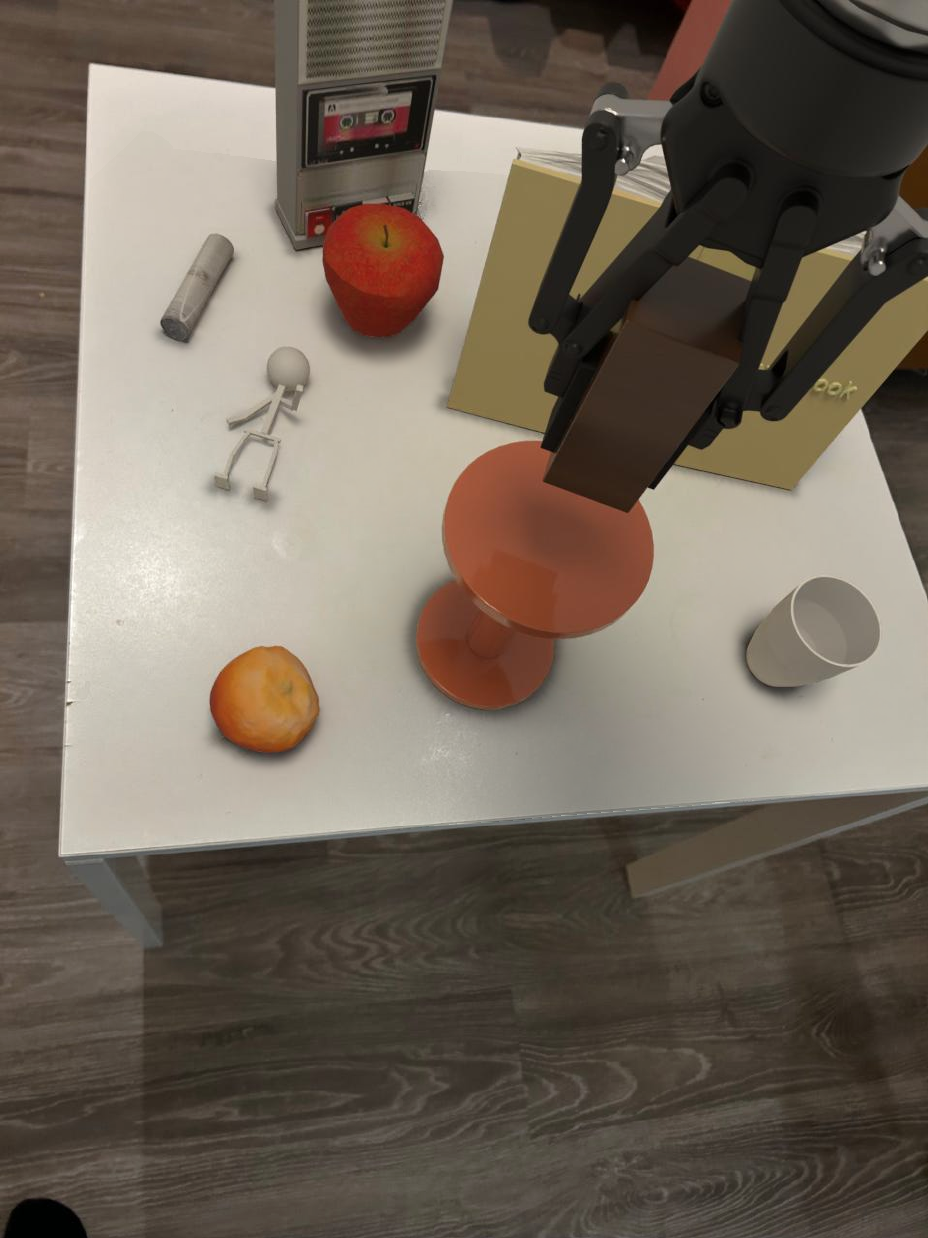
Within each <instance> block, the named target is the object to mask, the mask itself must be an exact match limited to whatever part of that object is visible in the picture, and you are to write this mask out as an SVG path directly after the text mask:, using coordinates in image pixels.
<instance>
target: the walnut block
mask: <svg viewBox="0 0 928 1238" xmlns="http://www.w3.org/2000/svg"><path fill="white" fill-rule="evenodd" d="M750 284H751V281H750V280H747V279H745V278H742V277H740V276H737V275H735V274H732V273H730V272H727V271H724V270H722V269H719V268H717V267H714V266H712V265H709V264H707V263H704V262H701V261H699V260H696V259H694V258H691V257H689V256H688V257H687V258H686V259H685V260H684V261H683V262H682V263H681V264H680V265H679V266H677V267H676V266H672V267H671V268H670V269H669V270H668V271H667V272H666V273H665V274H664V275H663V276H662V277H661V278H660V279H659V280H658V281H657V282H656V283H655V284H654V285H653V287H652V288H651V289H650V290H649V291H648V292H647V293H646V294H645V295H644V296H643V297H642V298H641V299H640V300H639V301H636V300H631V301H630V303H629V305H628V307H627V309H626V311H625V313H624V315H623V317H622V318H621V319H620V320H619V321H618V323H617V324H616V325H615V326H614V327H613V328H612V329H611V330H610V331H609V332H608V333H607V334H606V336H605V339H604V342H603V346H602V349H601V353H600V356H599V360H598V363H597V367H596V370H595V373H594V374H593V376H592V378H591V380H590V382H589V384H588V386H587V388H586V390H585V392H584V394H583V396H582V398H581V400H580V402H579V404H578V406H577V407H576V409H575V411H574V413H573V415H572V417H571V419H570V421H569V423H568V425H567V427H566V429H565V431H564V433H563V435H562V437H561V439H560V441H559V442H558V444H557V446H556V448H555V450H554V452H551V453H550V457H549V460H548V463H547V467H546V470H545V473H544V477H543V482H545V483H547V484H550V485H553V486H555V487H558V488H561V489H564V490H566V491H569V492H572V493H574V494H577V495H580V496H582V497H585V498H588V499H591V500H593V501H596V502H599V503H601V504H604V505H607V506H610V507H612V508H615V509H618V510H620V511H623V512H626V513H629V512H630V510H631V509H632V508H633V506H634V505H635V504H636V502H637V501H638V500H639V501H640V498H641V497H642V496H643V494H644V493H645V492H646V490H647V489H649V488H648V486H649V485H650V484H651V482H652V481H653V480H654V478H655V477H656V476H657V474H658V473H659V472H660V470H661V469H662V467H663V466H664V465H665V463H666V462H667V461H668V459H669V458H670V457H671V455H672V454H673V453H674V451H675V450H676V449H677V447H678V446H679V445H680V443H681V442H682V441H683V439H684V438H685V437H686V435H687V434H688V433H689V431H690V430H691V429H692V427H693V426H694V425H695V423H696V422H697V421H698V419H699V418H700V416H701V415H702V414H703V412H704V411H705V410H706V408H707V407H708V406H709V404H710V403H711V402H712V400H713V399H714V398H715V396H716V395H717V394H718V392H719V391H720V390H721V388H722V387H723V386H724V384H725V383H726V382H727V380H728V379H729V378H730V376H731V375H732V374H733V372H734V371H735V370H736V368H737V367H738V366H739V362H740V357H741V351H742V346H743V342H742V341H739V340H738V337H739V332H740V326H741V321H742V316H743V310H744V305H745V300H746V297H747V294H748V290H749V287H750Z"/></svg>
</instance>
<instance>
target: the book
mask: <svg viewBox="0 0 928 1238" xmlns="http://www.w3.org/2000/svg"><path fill="white" fill-rule="evenodd" d="M515 150H516V151H517V155H516V158H514V157H512V162H511V166H510V170H509V172H508V177H507V181H506V184H505V188H504V192H503V196H502V200H501V204H500V207H499V210H498V214H497V218H496V222H495V225H494V229H493V233H492V237H491V241H490V244H489V248H488V252H487V255H486V259H485V263H484V266H483V271H482V274H481V278H480V281H479V285H478V289H477V293H476V296H475V301H474V304H473V307H472V312H471V316H470V318H469V322H468V327H467V330H466V334H465V337H464V342H463V345H462V349H461V352H460V356H459V359H458V363H457V367H456V371H455V375H454V379H453V383H452V386H451V391H450V394H449V398H448V401H447V406H446V408H449V409H452V410H456V411H461V412H463V413H468V414H471V415H475V416H479V417H483V418H487V419H490V420H494V421H499V422H501V423H505V424H509V425H513V426H517V427H521V428H525V429H528V430H532V431H537V432H539V433H543V434H545V431H546V428H547V425H548V421H549V418H550V415H551V412H552V409H553V407H554V405H555V402H556V400H557V398H558V397H557V396H555V395H552V394H550V393H547V392H544V381H545V378H546V374H547V371H548V368H549V365H550V362H551V360H552V358H553V356H554V353H555V351H556V348H557V346H558V342H557V340H556V339H555V338H554V337H553V336H552V335H551V334H545V335H541V334H537V333H535V332H534V331H532V330H531V328H530V327H529V324H528V319H529V316H530V313H531V310H532V308H533V305H534V302H535V299H536V296H537V293H538V290H539V288H540V285H541V282H542V279H543V277H544V274H545V272H546V269H547V266H548V264H549V261H550V259H551V256H552V254H553V251H554V249H555V246H556V243H557V241H558V238H559V236H560V233H561V231H562V228H563V226H564V223H565V220H566V218H567V215H568V213H569V210H570V208H571V205H572V203H573V200H574V197H575V195H576V192H577V190H578V187H579V185H580V182H581V180H582V153H578V152H577V153H576V152H566V151H565V152H564V151H557V150H549V149H548V150H547V149H540V148H539V149H538V148H529V147H521V146H516V147H515ZM643 160H644V159H641V161H640V164H639V165H638V166H637V168H635V169H634V170H632V171H629V172H628V173H627V174H626V175H624V176H618V177H617V180H616V183H615V186H614V189H613V192H612V196H611V199H610V201H609V204H608V207H607V209H606V212H605V214H604V216H603V218H602V221H601V223H600V225H599V227H598V230H597V232H596V234H595V237H594V239H593V241H592V243H591V246H590V248H589V250H588V252H587V255H586V257H585V259H584V262H583V264H582V266H581V268H580V271H579V273H578V275H577V278H576V280H575V282H574V284H573V287H572V289H571V291H570V293H569V295H571V296H572V297H573V298H575V299H576V298H577V296H578V294H581V296H580V298H581V297H582V296H583V295H584V294H585V293H586V292H587V290H588V289H589V288H590V287H591V286H592V285H593V284H594V282H595V281H596V280H597V279H598V278H599V277H600V276H601V274H602V273H603V272H604V271H605V270H606V269H607V268H608V266H609V265H610V264H611V263H612V262H613V261H614V260H615V258H616V257H617V256H618V255H619V254H620V253H621V251H622V250H623V249H624V248H625V247H626V246H627V245H628V243H629V242H630V241H631V240H632V239H633V238H634V237H635V235H636V234H637V233H638V232H639V231H640V230H641V229H642V227H643V226H644V225H645V224H646V223H647V222H648V221H649V219H650V218H651V217H652V216H653V215H654V214H655V213H656V211H657V210H658V209H659V208H660V206H661V204H662V203H663V201H664V199H665V197H666V195H667V194H668V192H669V191H670V190H671V186H670V182H669V177H668V173H667V168H666V164H662V163H657V162H651V161H643ZM866 233H867V230H866V231H864V232H862V233H859V234H857V235H855V236H852V237H850V238H848V239H845V240H843V241H841V242H838V243H836V244H834V245H831V246H829V247H827V248H824V249H822V250H820V251H817V252H815V253H813V254H810V255H808V256H805V257H803V258H802V260H801V262H800V265H799V267H798V270H797V273H796V275H795V278H794V281H793V283H792V286H791V289H790V291H789V294H788V297H787V299H786V301H785V302H783V305H782V308H781V310H780V313H779V316H778V318H777V321H776V324H775V326H774V329H773V332H772V334H771V337H770V340H769V342H768V345H767V348H766V351H765V353H764V356H763V359H762V361H761V364H760V367H759V369H761V370H767V369H768V368H769V367H770V365H771V364H772V363H773V361H774V360H775V359H776V357H777V356H778V355H779V354H780V352H781V351H782V350H783V348H784V347H785V346H786V345H787V343H788V342H789V341H790V339H791V338H792V337H793V335H794V334H795V333H796V332H797V330H798V329H799V328H800V326H801V325H802V324H803V322H804V321H805V320H806V319H807V317H808V316H809V315H810V313H811V312H812V311H813V310H814V308H815V307H816V306H817V304H818V303H819V302H820V300H821V299H822V298H823V297H824V295H825V294H826V293H827V291H828V290H829V289H830V288H831V286H832V285H833V284H834V282H835V281H836V280H837V278H838V277H839V276H840V275H841V273H842V272H843V271H844V269H845V268H846V267H847V266H848V264H849V263H850V262H851V260H852V259H853V258H854V257H855V256H856V254H857V253H858V252H859V251H860V250H861V247H862V239H863V237H864V235H865V234H866ZM689 257H691V258H694V259H696V260H699V261H701V262H704V263H707V264H709V265H712V266H714V267H717V268H719V269H722V270H724V271H727V272H730V273H732V274H735V275H737V276H740V277H742V278H745V279H747V280H750V281H752V278H753V275H754V272H755V269H756V267H754V266H751V265H749V264H746V263H745V262H743V261H742V260H741V259H739V258H738V257H736V256H735V255H734V254H732V253H731V252H729V251H723V250H716V249H709V248H706V247H703V246H700V245H699V246H698V247H697V248H696V249H695V250H694V251H693V252H692V253H691V254H690V255H689ZM927 332H928V277H926V278H925V279H923V280H921V281H920V282H918V283H917V284H915V285H913V286H912V287H910V288H909V289H907V290H906V291H904V292H902V293H901V294H899V295H898V296H896V297H894V298H893V299H891V300H890V301H888V302H886V303H885V304H884V305H883V306H882V307H881V309H880V310H879V311H878V312H877V313H876V314H875V315H874V317H873V318H872V319H871V320H870V321H869V322H868V323H867V325H866V326H865V327H864V328H863V329H862V330H861V332H860V333H859V334H858V335H857V336H856V337H855V338H854V340H853V341H852V342H851V343H850V344H849V345H848V346H847V348H846V349H845V350H844V351H843V352H842V353H841V354H840V356H839V357H838V358H837V359H836V360H835V361H834V362H833V364H832V365H831V366H830V367H829V368H828V369H827V371H826V372H825V373H824V374H823V375H822V376H821V377H820V379H819V380H818V381H817V382H816V383H815V384H814V385H813V387H812V388H811V389H810V390H809V391H808V392H807V393H806V395H805V396H804V397H803V398H802V399H801V400H800V402H799V403H798V404H797V405H796V406H795V407H794V408H793V410H792V411H791V412H790V413H789V414H788V415H787V416H786V417H785V418H784V419H783V420H780V421H773V422H772V421H767V420H765V419H763V418H762V416H761V415H760V412H757V411H743V415H742V421H741V423H740V425H739V426H737V427H736V428H733V429H723V430H722V431H721V432H720V433H719V435H718V436H717V437H716V438H715V440H714V441H713V442H712V444H711V445H710V446H708V447H706V448H705V449H703V450H700V449H697V448H695V447H692V446H689V445H688V446H687V447H686V449H685V450H684V451H683V453H682V454H681V455H680V456H679V458H678V459H677V460H676V462H675V463H674V464H673V465H677V466H681V467H685V468H690V469H695V470H699V471H704V472H709V473H712V474H717V475H722V476H726V477H730V478H731V477H732V478H735V479H740V480H745V481H748V482H749V481H750V482H754V483H757V484H763V485H767V486H772V487H776V488H781V489H785V490H789V491H790V490H791V491H792V490H793V489H794V488H795V486H797V484H798V483H799V482H800V481H801V480H802V478H803V477H804V476H805V475H806V474H807V473H808V471H809V470H810V469H811V468H812V467H813V465H814V464H815V463H816V462H817V461H818V460H819V458H820V457H822V455H823V454H824V453H825V451H827V449H828V448H829V447H830V446H831V444H832V443H833V442H834V441H835V440H836V439H837V437H838V436H839V435H840V434H841V433H842V431H844V429H845V428H846V427H847V426H848V424H849V423H850V422H851V421H852V420H853V419H854V418H855V416H856V415H858V413H859V411H860V410H861V409H863V407H864V406H865V404H866V403H867V402H868V401H869V400H870V399H871V397H872V396H873V395H874V394H875V393H876V391H877V390H878V389H879V388H880V387H881V386H882V384H883V383H884V382H885V381H886V380H887V379H888V378H889V376H890V375H891V374H892V373H893V371H895V369H896V368H897V367H898V366H899V364H901V363H902V361H903V360H904V359H905V358H906V356H907V355H908V354H909V353H910V352H911V350H912V349H913V348H914V347H915V346H916V345H917V343H919V341H921V339H922V338H923V337H924V336H925V334H926V333H927Z"/></svg>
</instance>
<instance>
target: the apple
mask: <svg viewBox="0 0 928 1238" xmlns="http://www.w3.org/2000/svg"><path fill="white" fill-rule="evenodd" d="M440 243H441V242H440V240H439V238H438V237H437V236H436V235H435V233H434V232H433V231H432V229H430V227H429V226H428V225H427V224H426V223H425V221H424V220H423V219H422V218H421V217H420V215H419V216H417V215H415V214H413V213H411V212H410V211H408V210H406V209H404V208H401V207H396V206H391V205H386V204H363V205H359V206H356V207H352V208H350V209H348V210H347V211H345V212H343V213H342V214H341V215H340V216H339V217H338V218H337V219H336V220H335V221H334V222H333V223H332V224H331V225H330V226H329V228H328V231H327V234H326V237H325V240H324V242H323V245H322V259H321V261H322V268H323V271H324V272H323V273H324V277H325V281H326V283H327V286H328V288H329V290H330V292H331V294H332V296H333V299H334V301H335V302H336V305H337V307H338V309H339V311H340V313H341V315H342V317H343V319H344V321H345V323H346V324H347V325H348V326H349V327H350V328H351V330H352V331H354V332H356V333H358V334H360V335H363V336H364V337H371V338H390V337H393V336H396V335H398V334H400V333H402V332H403V331H404V330H406V328H407V327H409V325H411V324H412V323H413V322H414V321H415V320H416V319H417V317H418V316H419V315H420V314H421V312H423V310H424V309H425V307H427V305H428V303H429V302H430V301H431V300H432V299H433V297H434V296H435V295H436V294H437V292H438V291H439V288H440V281H441V276H442V272H443V271H442V270H443V265H444V259H445V255H444V252H443V248H442V247H441V244H440Z"/></svg>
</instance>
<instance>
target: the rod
mask: <svg viewBox="0 0 928 1238" xmlns="http://www.w3.org/2000/svg"><path fill="white" fill-rule="evenodd" d="M234 253H235V247H234V245H233V243H232V242H231V240H230V239H228V238H227V237H225V236H224V235H222V234H220V233H217V232H215V233H210V234H208V236H207V237H206V239H205V240H204V242H203V244H202V245H201V248H200V249H199V251H198V253H197V255H196V256H195V258H194V260H193V262H192V264H191V265H190V268H189V269H188V271H187V273H186V274H185V276H184V278H183V280H182V281H181V284H180V285H179V287H178V288H177V291H176V293H175V294H174V296H173V298H172V299H171V301H170V303H169V304H168V306H167V308H166V310H165V311H164V313H163V315H162V317H161V318H160V321H159V325H160V326H161V328H162V330H163V332H164V334H166V335H167V336H169V337H170V338H171V339H173V340H175V341H184V340H186V339H187V338H188V337H189V335H190V333H191V331H192V330H193V327H194V326H195V324H196V322H197V320H198V318H199V316H200V314H201V312H202V311H203V308H204V307H205V305H206V303H207V301H208V299H209V297H210V296H211V294H212V292H213V290H214V289H215V287H216V285H217V283H218V281H219V280H220V277H222V275H223V272H224V270H225V268H226V267H227V265H228V263H229V261H230V260H231V258H232V257H233V255H234Z"/></svg>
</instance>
